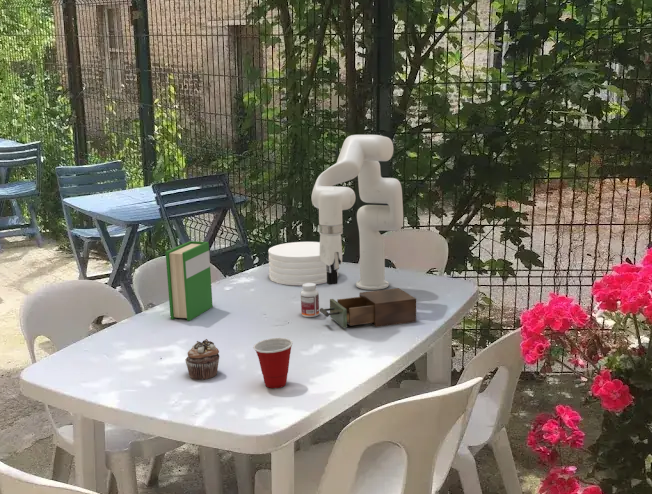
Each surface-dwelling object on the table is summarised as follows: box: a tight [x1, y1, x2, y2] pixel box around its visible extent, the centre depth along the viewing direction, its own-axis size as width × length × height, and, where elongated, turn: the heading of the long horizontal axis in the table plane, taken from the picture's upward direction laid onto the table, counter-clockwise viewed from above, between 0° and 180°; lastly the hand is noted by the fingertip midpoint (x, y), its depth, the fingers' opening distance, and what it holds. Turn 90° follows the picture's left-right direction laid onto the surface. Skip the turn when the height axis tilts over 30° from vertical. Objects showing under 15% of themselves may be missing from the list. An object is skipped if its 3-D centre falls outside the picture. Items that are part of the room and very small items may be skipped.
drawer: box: [319, 296, 375, 329], centre depth 286 cm, size 18×13×6 cm
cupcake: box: [184, 338, 220, 381], centre depth 243 cm, size 10×10×10 cm
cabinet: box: [358, 287, 417, 328], centre depth 290 cm, size 15×15×8 cm
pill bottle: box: [300, 283, 320, 318], centre depth 296 cm, size 6×6×11 cm
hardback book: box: [165, 240, 214, 322], centre depth 301 cm, size 18×7×24 cm, turn 159°
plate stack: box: [268, 241, 339, 286], centre depth 348 cm, size 28×28×12 cm
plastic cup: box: [252, 337, 294, 389], centre depth 234 cm, size 11×11×12 cm
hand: (332, 283), depth 282 cm, fingers closed
